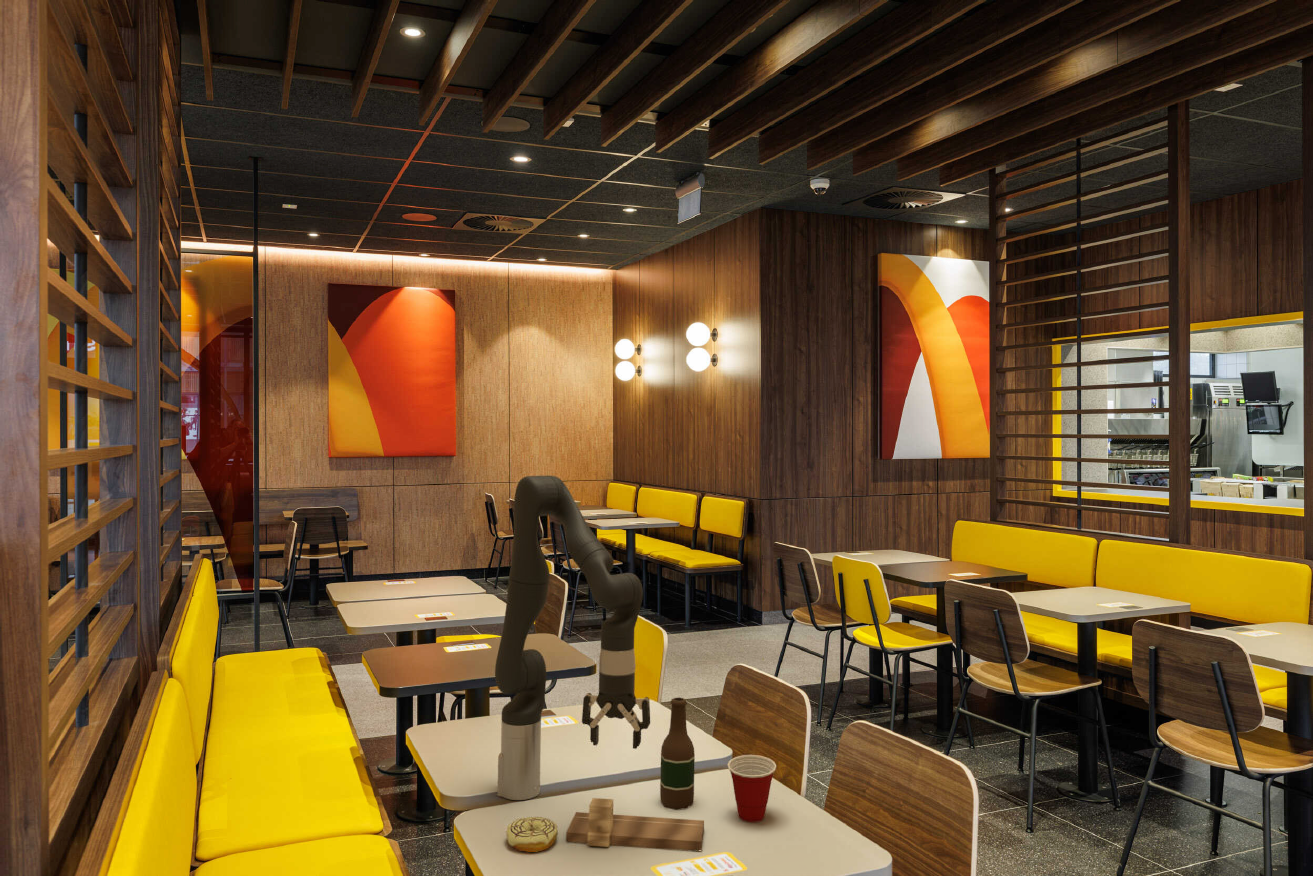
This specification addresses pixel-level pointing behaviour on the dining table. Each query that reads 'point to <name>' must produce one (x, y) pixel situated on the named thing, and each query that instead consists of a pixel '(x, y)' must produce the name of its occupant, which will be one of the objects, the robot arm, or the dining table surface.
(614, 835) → the board
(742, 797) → the plastic cup
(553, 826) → the decorated donut
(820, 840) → the dining table surface
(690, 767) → the beer bottle
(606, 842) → the block
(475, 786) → the dining table surface
